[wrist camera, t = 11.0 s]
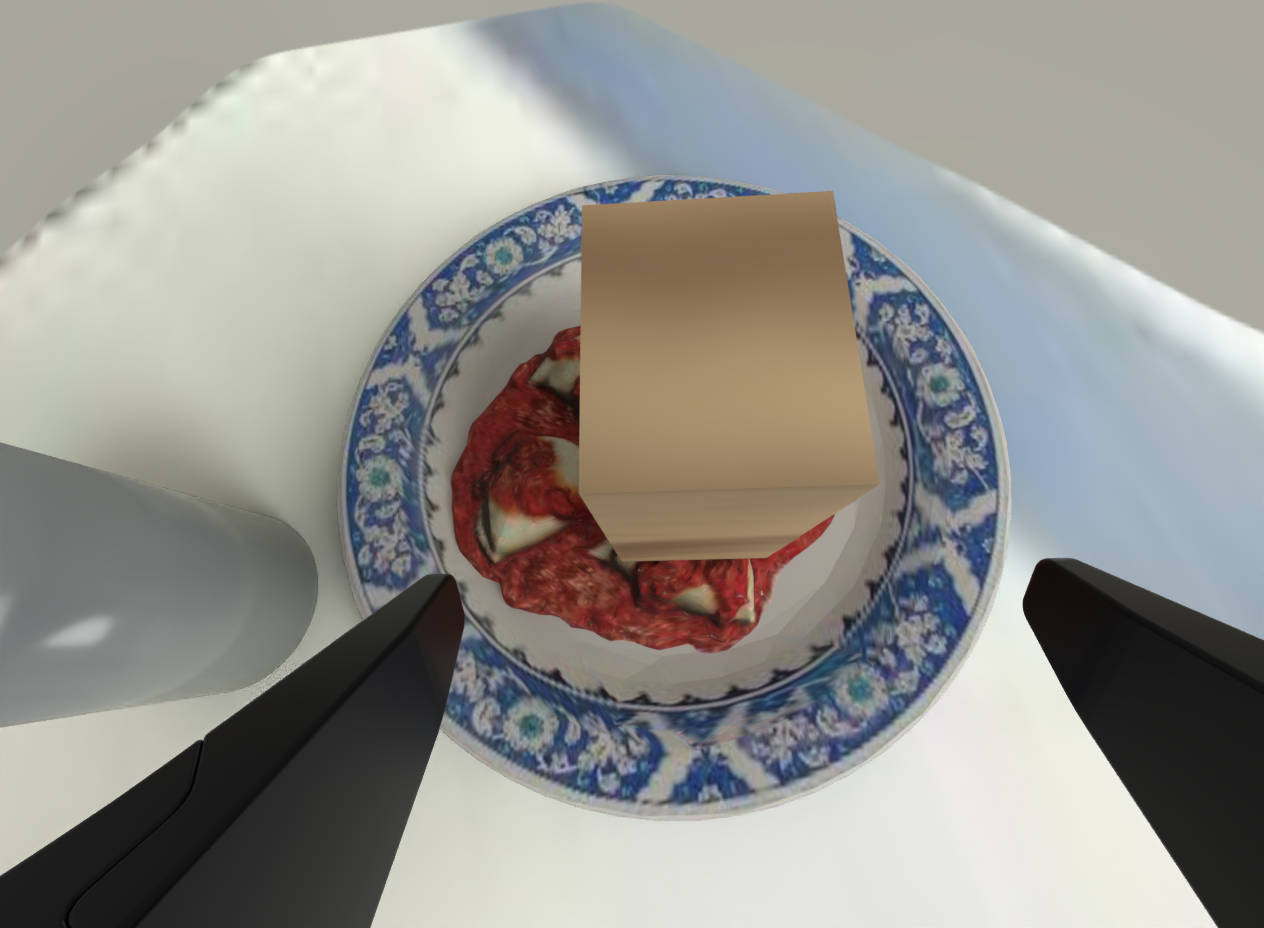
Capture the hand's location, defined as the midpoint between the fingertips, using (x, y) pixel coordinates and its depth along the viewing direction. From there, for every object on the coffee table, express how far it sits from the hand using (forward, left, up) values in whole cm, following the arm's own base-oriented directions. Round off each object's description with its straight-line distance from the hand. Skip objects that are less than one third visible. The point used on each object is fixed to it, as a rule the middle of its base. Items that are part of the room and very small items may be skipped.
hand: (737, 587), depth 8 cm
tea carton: (+3, +3, -10) cm, 11 cm away
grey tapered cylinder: (-13, +13, -13) cm, 22 cm away
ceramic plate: (+4, +5, -13) cm, 15 cm away
